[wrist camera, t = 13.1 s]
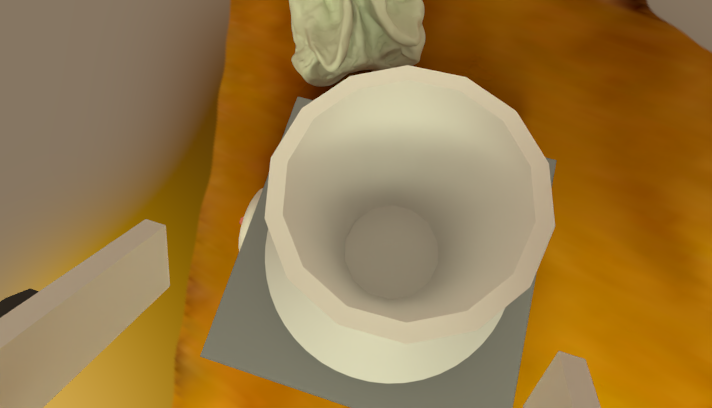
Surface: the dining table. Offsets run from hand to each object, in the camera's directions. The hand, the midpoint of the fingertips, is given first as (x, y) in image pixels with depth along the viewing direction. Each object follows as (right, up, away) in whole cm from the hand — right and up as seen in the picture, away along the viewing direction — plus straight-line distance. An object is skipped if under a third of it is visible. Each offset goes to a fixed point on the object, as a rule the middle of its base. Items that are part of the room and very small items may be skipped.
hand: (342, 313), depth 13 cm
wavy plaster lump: (+1, +21, +28) cm, 35 cm away
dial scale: (+3, -2, +21) cm, 21 cm away
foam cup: (+3, 0, +13) cm, 13 cm away
